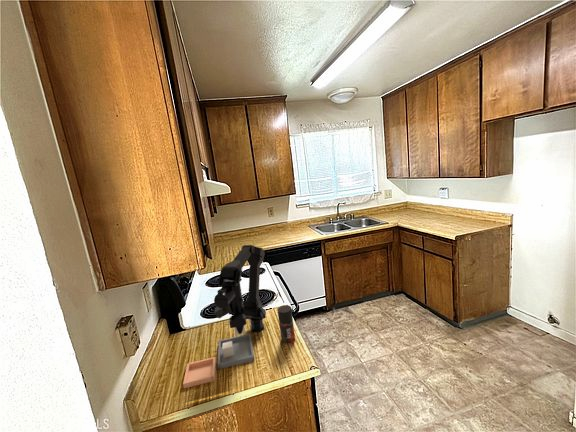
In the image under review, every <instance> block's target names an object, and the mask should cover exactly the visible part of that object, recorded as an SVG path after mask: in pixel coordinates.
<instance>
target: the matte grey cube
mask: <svg viewBox="0 0 576 432" xmlns="http://www.w3.org/2000/svg"><path fill="white" fill-rule="evenodd" d="M233 329H234V333H235V334H234V335H235V336H241V335H245V334H246V328H245V326H244V327H243V330H242V333H241V334H239V333H238V331H237V329H236V327H234V328H233Z"/></svg>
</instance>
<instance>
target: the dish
mask: <svg viewBox="0 0 576 432" xmlns="http://www.w3.org/2000/svg"><path fill="white" fill-rule="evenodd" d="M216 359H217V357H215V356H213V357H209V358H205V359H202V360H201V359H200V360H196V361H191V362H187V365H186V368H185V374H184V378H183V382H182V386H183V389H187V388H188V389H189V388H191V387H192V388H193V387H195V386H199V385H203V384H206V383H207V384H208V383H211V382H214V381H216V369H217V367H216V366H217V360H216Z"/></svg>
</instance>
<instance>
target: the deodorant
mask: <svg viewBox="0 0 576 432" xmlns="http://www.w3.org/2000/svg"><path fill="white" fill-rule="evenodd" d="M292 309H293V308H292V307H291V306H290V305H286V304H285V305H281V306H279V307H278V308H277V315H278V322H279V323H278V324H279V331H280V340H281V343H282V344H286V345H289V344H291V345H292V343H293V344H294V343H295V342H296V335H295V328H294V327H295V326H294V319H293V310H292Z"/></svg>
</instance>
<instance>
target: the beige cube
mask: <svg viewBox="0 0 576 432" xmlns="http://www.w3.org/2000/svg"><path fill="white" fill-rule="evenodd" d="M222 350H223V356H224V358H226V357H230V356H234V349H233V343H232V341H230V342H226V343H223V345H222Z"/></svg>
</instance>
